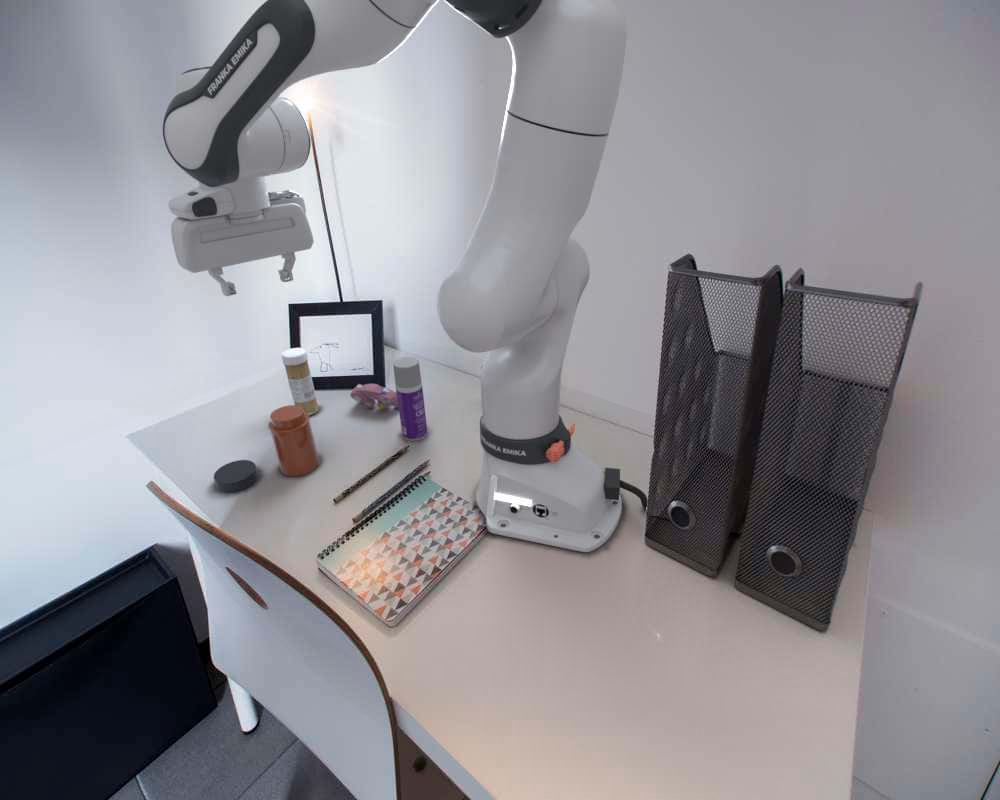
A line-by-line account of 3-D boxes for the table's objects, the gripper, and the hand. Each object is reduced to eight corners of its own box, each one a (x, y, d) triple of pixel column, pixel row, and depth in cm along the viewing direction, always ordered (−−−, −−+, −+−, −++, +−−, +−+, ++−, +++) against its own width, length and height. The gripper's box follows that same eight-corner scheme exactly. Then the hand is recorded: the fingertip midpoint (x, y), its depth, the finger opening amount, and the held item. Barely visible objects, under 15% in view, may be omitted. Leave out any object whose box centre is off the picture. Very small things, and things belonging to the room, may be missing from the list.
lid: (214, 476, 90) (211, 467, 89) (255, 464, 93) (252, 455, 92) (219, 497, 85) (215, 488, 84) (261, 484, 88) (258, 474, 87)
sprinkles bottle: (314, 403, 111) (300, 344, 104) (322, 412, 108) (309, 351, 101) (292, 411, 108) (277, 351, 102) (300, 420, 105) (285, 358, 99)
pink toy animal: (356, 412, 110) (343, 392, 105) (365, 394, 113) (352, 374, 107) (399, 418, 108) (388, 398, 102) (407, 400, 110) (396, 380, 105)
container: (422, 442, 97) (414, 368, 90) (398, 439, 98) (388, 367, 91) (430, 428, 101) (422, 357, 94) (407, 426, 102) (397, 355, 95)
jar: (327, 460, 93) (315, 408, 88) (299, 480, 88) (285, 426, 83) (301, 451, 96) (288, 400, 91) (273, 470, 91) (257, 417, 86)
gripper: (291, 186, 87) (308, 270, 94) (155, 204, 74) (186, 299, 81) (311, 189, 83) (327, 276, 90) (170, 208, 70) (202, 308, 77)
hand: (259, 287), depth 85 cm, fingers open, 8 cm apart
